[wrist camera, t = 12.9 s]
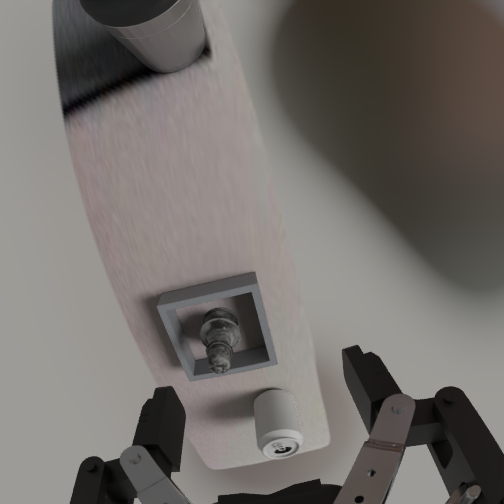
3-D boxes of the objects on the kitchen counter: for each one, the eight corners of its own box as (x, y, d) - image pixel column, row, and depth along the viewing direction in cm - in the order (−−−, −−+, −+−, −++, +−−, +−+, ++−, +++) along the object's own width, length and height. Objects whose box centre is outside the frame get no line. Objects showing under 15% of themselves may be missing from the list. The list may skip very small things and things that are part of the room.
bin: (162, 293, 44) (156, 306, 40) (255, 271, 44) (257, 283, 40) (191, 365, 49) (189, 381, 45) (274, 349, 48) (277, 364, 45)
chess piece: (219, 344, 48) (217, 397, 36) (193, 321, 46) (183, 371, 35) (248, 324, 47) (253, 375, 35) (221, 298, 45) (219, 346, 34)
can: (260, 417, 54) (266, 466, 42) (247, 393, 51) (251, 445, 40) (298, 406, 53) (310, 454, 42) (287, 381, 51) (298, 432, 40)
